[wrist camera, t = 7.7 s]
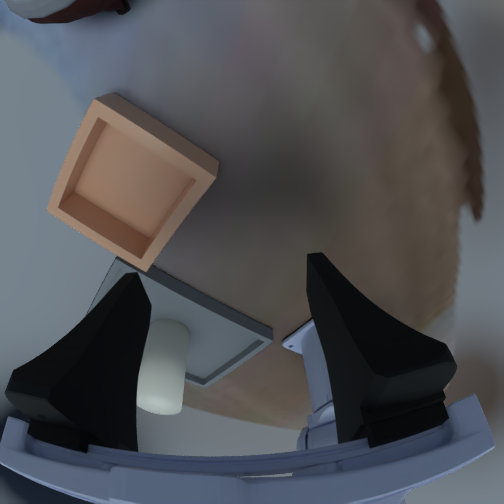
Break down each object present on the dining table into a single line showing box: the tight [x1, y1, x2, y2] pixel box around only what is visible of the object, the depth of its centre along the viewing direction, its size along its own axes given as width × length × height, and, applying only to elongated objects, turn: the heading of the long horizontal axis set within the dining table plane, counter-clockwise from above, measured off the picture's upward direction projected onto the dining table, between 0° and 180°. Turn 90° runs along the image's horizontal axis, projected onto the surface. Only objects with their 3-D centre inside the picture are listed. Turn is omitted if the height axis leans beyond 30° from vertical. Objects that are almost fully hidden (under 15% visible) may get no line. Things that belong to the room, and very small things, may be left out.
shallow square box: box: [47, 93, 219, 272], centre depth 18 cm, size 9×9×3 cm
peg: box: [137, 319, 190, 415], centre depth 24 cm, size 4×4×8 cm
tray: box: [86, 256, 274, 388], centre depth 27 cm, size 16×12×2 cm
